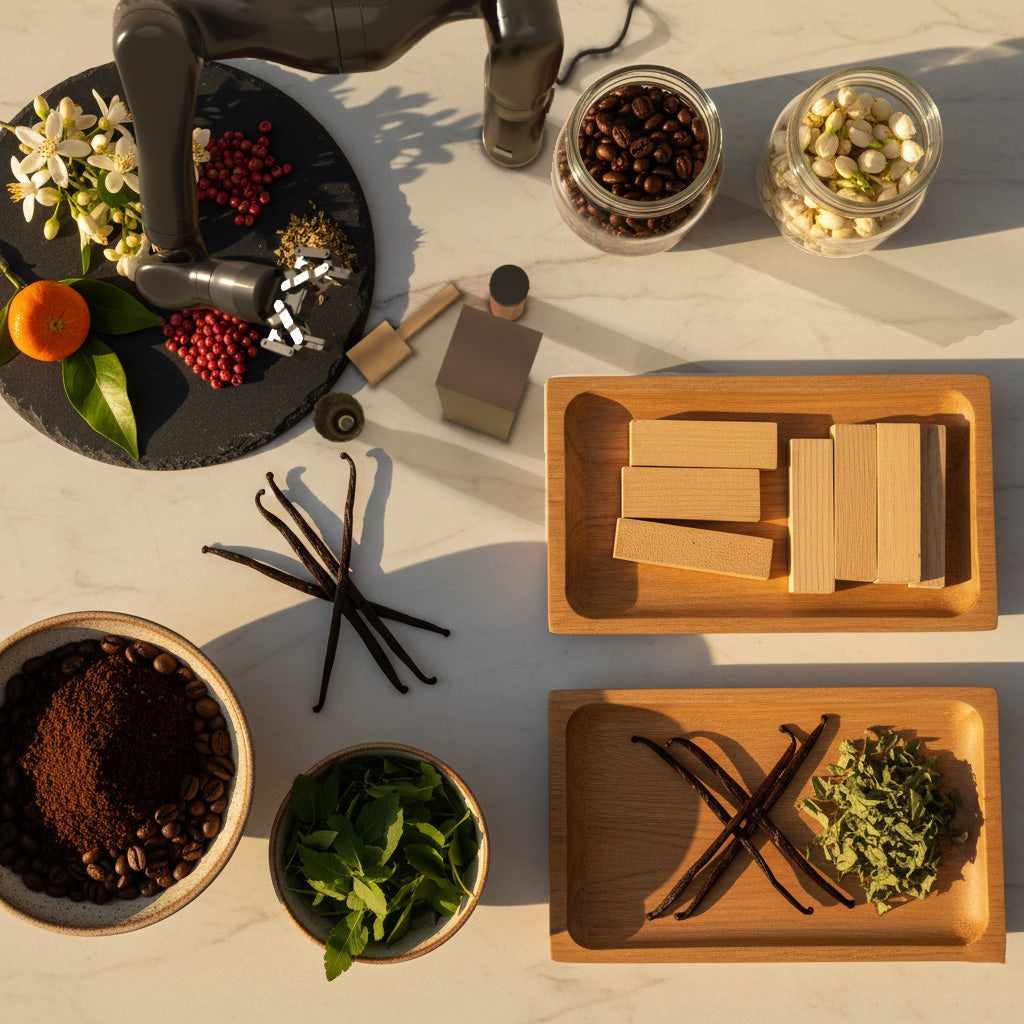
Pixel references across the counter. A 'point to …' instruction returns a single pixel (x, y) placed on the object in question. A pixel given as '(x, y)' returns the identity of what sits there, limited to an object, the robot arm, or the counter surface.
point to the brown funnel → (338, 417)
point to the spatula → (395, 339)
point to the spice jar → (506, 310)
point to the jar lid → (509, 285)
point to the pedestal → (486, 370)
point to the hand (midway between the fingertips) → (343, 313)
